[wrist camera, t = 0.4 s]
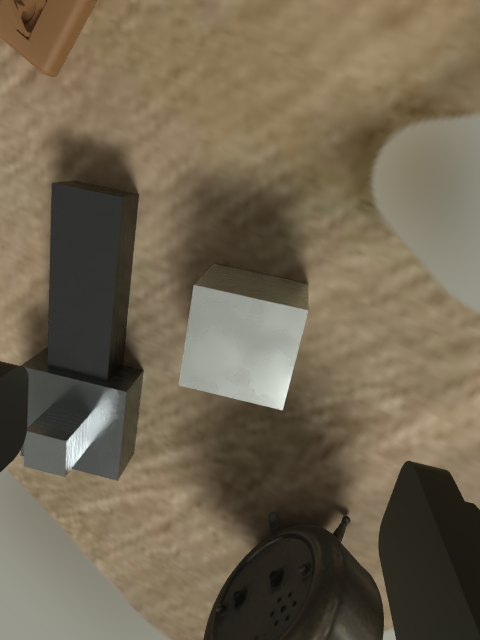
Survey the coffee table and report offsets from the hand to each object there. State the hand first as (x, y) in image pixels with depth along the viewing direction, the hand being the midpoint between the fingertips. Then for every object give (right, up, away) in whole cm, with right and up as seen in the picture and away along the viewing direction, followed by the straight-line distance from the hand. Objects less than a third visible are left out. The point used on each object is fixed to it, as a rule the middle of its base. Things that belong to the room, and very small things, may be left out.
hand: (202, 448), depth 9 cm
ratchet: (-9, +2, +20) cm, 22 cm away
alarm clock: (+5, -13, +24) cm, 27 cm away
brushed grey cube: (+2, +3, +18) cm, 18 cm away
